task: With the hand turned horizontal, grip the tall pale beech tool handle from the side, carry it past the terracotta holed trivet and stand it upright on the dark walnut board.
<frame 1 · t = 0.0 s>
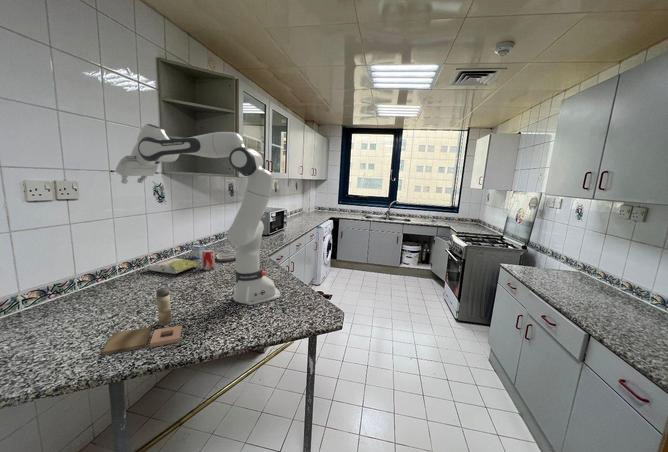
hand: (132, 182, 132), 54 cm above the worktop, tool tilted 30°, fingers open, 8 cm apart
walnut board: (129, 341, 99), on the worktop
holed trivet: (167, 337, 102), on the worktop
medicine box: (198, 257, 197), on the worktop
beech tool handle: (165, 322, 112), on the worktop
frozen beans: (173, 270, 171), on the worktop
brain slice: (228, 258, 198), on the worktop
soda can: (209, 269, 175), on the worktop
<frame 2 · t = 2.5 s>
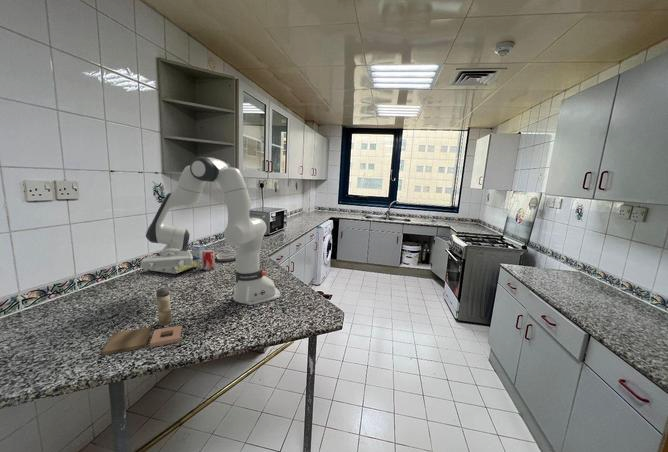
hand: (165, 266, 119), 20 cm above the worktop, tool horizontal, fingers open, 8 cm apart
nothing on the worktop moved.
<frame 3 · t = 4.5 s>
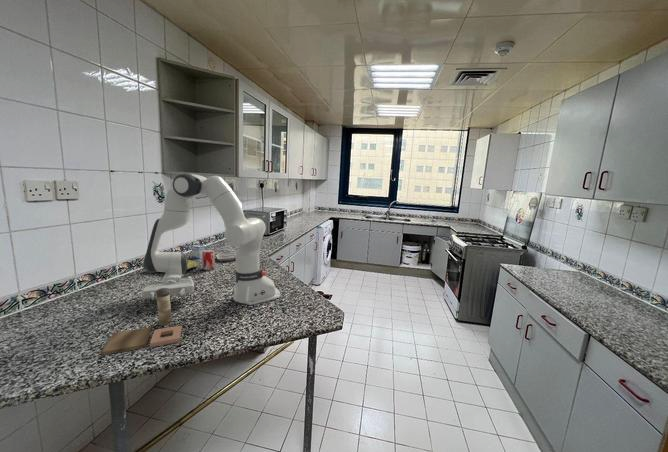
hand: (167, 296, 118), 7 cm above the worktop, tool horizontal, fingers open, 8 cm apart
nothing on the worktop moved.
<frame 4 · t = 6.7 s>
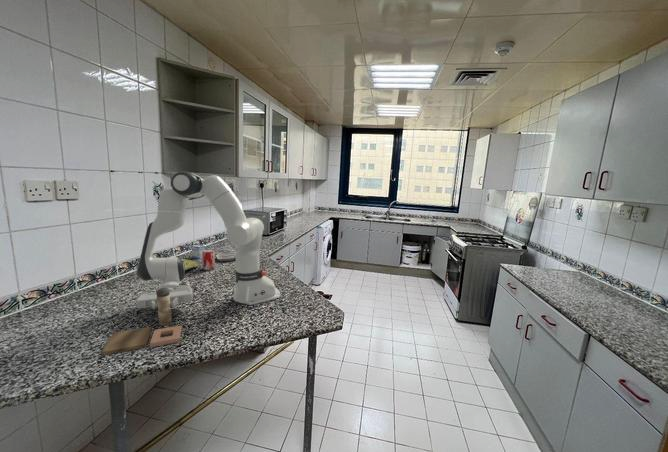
hand: (163, 306, 110), 8 cm above the worktop, tool horizontal, fingers closed on beech tool handle, 4 cm apart
beech tool handle: (165, 322, 112), on the worktop, touching gripper
everything else where it was.
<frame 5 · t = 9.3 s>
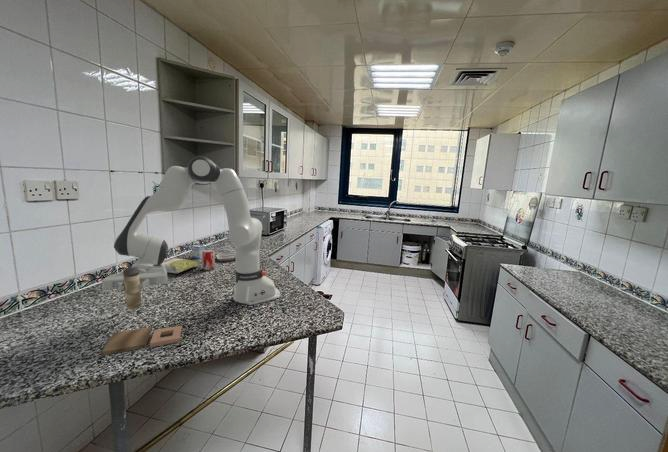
hand: (131, 287, 98), 19 cm above the worktop, tool horizontal, fingers closed on beech tool handle, 4 cm apart
beech tool handle: (134, 306, 100), point 12 cm above the worktop, touching gripper
everything else where it was.
when the fingers open (10 cm above the worktop, at t = 11.7 s): beech tool handle drops 1 cm, resting on walnut board.
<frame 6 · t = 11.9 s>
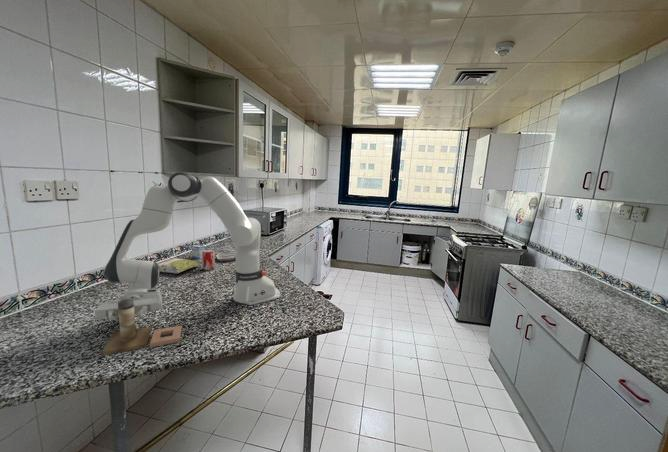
hand: (125, 316, 96), 10 cm above the worktop, tool horizontal, fingers open, 6 cm apart
beech tool handle: (128, 338, 99), point 1 cm above the worktop, touching walnut board
everything else where it was.
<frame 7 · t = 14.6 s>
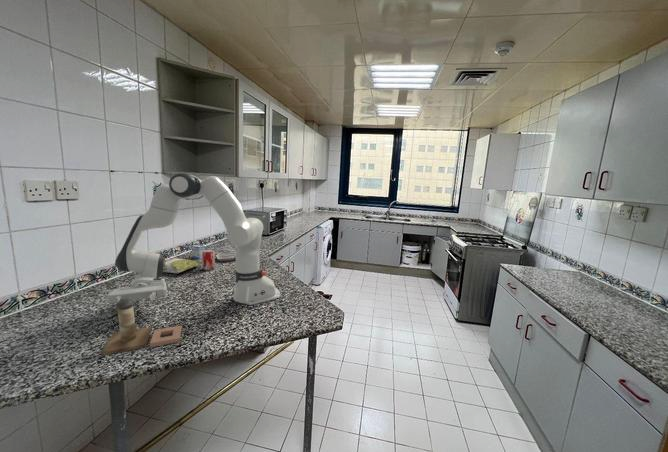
hand: (134, 301, 108), 10 cm above the worktop, tool horizontal, fingers open, 8 cm apart
nothing on the worktop moved.
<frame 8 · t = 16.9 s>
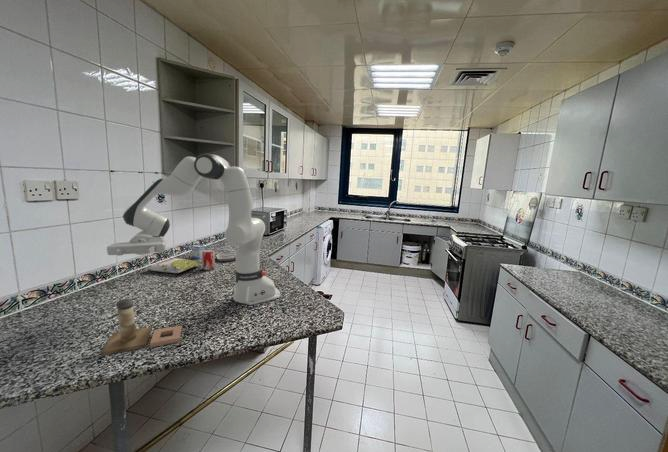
hand: (133, 252, 110), 28 cm above the worktop, tool horizontal, fingers open, 8 cm apart
nothing on the worktop moved.
at the end: beech tool handle inside the target area on the walnut board (0.0 cm from its centre), point 1.2 cm above the walnut board's base; beech tool handle tilted 0°; the gripper is holding nothing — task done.
